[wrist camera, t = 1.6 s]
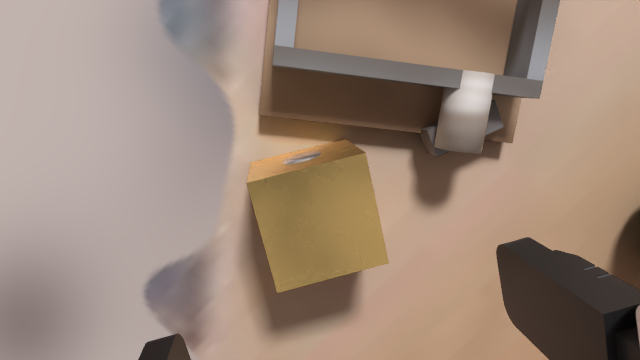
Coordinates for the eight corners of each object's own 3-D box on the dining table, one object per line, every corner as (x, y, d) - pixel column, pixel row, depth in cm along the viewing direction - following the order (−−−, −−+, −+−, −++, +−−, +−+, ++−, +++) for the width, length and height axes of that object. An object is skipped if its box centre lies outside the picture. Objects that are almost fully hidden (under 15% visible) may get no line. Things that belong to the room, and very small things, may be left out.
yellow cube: (364, 228, 25) (389, 264, 20) (275, 252, 24) (277, 294, 19) (344, 137, 23) (365, 151, 19) (250, 161, 23) (246, 181, 18)
